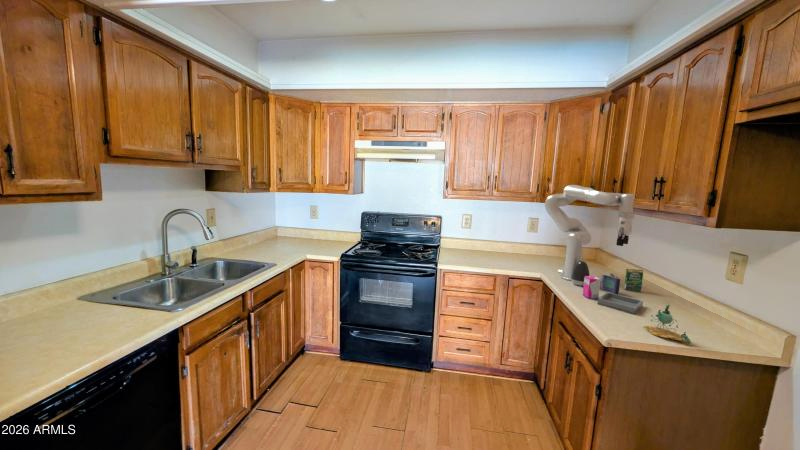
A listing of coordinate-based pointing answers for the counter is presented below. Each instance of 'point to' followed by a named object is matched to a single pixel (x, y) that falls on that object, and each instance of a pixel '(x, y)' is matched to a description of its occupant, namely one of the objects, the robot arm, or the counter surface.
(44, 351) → the counter surface
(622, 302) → the tray
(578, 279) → the dark grey domed cylinder
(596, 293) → the supplement box
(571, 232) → the robot arm
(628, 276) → the coffee box
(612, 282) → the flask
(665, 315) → the frog figurine
